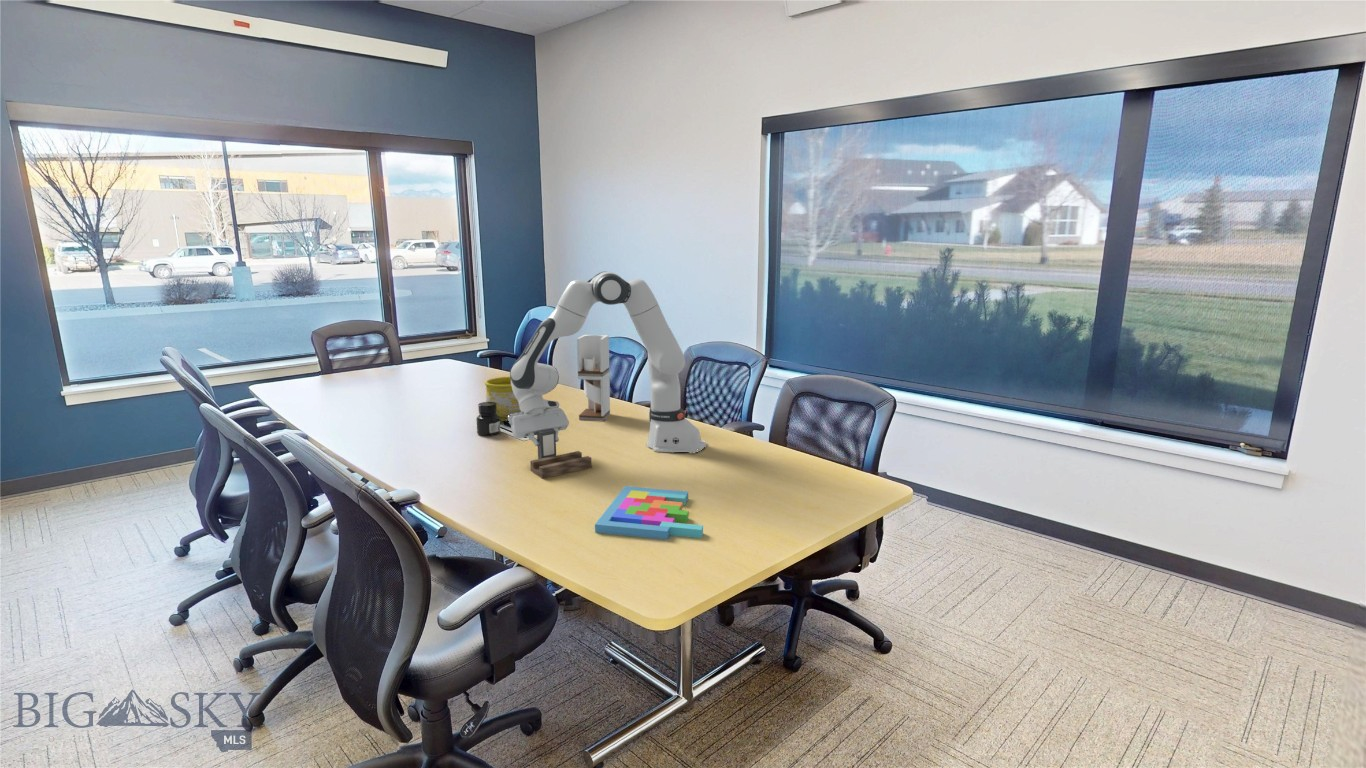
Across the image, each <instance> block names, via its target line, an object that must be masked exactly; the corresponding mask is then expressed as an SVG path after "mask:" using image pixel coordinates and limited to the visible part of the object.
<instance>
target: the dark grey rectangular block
mask: <svg viewBox="0 0 1366 768" xmlns="http://www.w3.org/2000/svg"><path fill="white" fill-rule="evenodd" d="M536 439H539V440H540V443H541V444H540V445H539V446H537V457H538V458H537V459H542V458H547V457H552V456H557V442H556V435H555V430H554V429H552V428H550V429H545V430H540V431H537V435H536Z"/></svg>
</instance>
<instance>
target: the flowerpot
mask: <svg viewBox="0 0 1366 768" xmlns="http://www.w3.org/2000/svg"><path fill="white" fill-rule="evenodd" d="M484 386H486V387H485V391H486V392H485V402H495V403H496V407H497V412H496V413H497V415H499V417H500V423H501V422H503V421H506V420H508V416H509V415H510V414H512V413H518V412H521V410H520V408H519V402H518V400H517V399H516V398H515V395H514V393H513V390H512V386H511V378H510V376H499V377H494V378H492V377H491V378H489V379H487V380H485V381H484ZM503 423H504V422H503Z"/></svg>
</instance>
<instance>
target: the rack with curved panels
mask: <svg viewBox="0 0 1366 768" xmlns="http://www.w3.org/2000/svg"><path fill="white" fill-rule="evenodd" d="M609 337H610V336H609V334H608V335H605V334H600V335H599V334H583V335H581V336H579V337H577V338H576V344H577V345H576V349H577V350H576V351H577V380H583V393H584V395H585V397H586V398H587V400H588V404H587V405H588V408H585V409H584V410H583V411H582V412H581V413H580V414H579V415H578V421H597V422H598V421H599V422H604V421H606V419H607V418H608V417H609V416H610V415H611V400H610V398H611V395H610V393H611V390H610V388H611V387H610V386H611V385H610V338H609Z"/></svg>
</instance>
